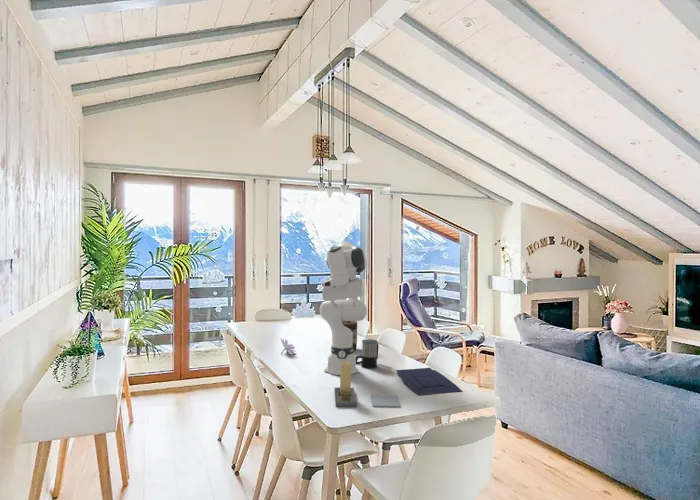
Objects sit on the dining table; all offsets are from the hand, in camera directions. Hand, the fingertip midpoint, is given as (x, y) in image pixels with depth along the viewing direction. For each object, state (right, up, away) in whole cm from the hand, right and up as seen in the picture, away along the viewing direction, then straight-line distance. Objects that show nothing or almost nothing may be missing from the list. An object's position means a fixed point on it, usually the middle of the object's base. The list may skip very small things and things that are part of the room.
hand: (345, 307), depth 226 cm
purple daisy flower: (-36, -37, +63) cm, 82 cm away
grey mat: (+18, -40, -19) cm, 48 cm away
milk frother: (+10, -39, +42) cm, 58 cm away
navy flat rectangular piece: (+41, -40, +8) cm, 58 cm away
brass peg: (0, -39, -16) cm, 42 cm away
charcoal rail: (0, -39, -16) cm, 42 cm away
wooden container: (-1, -38, +80) cm, 88 cm away
